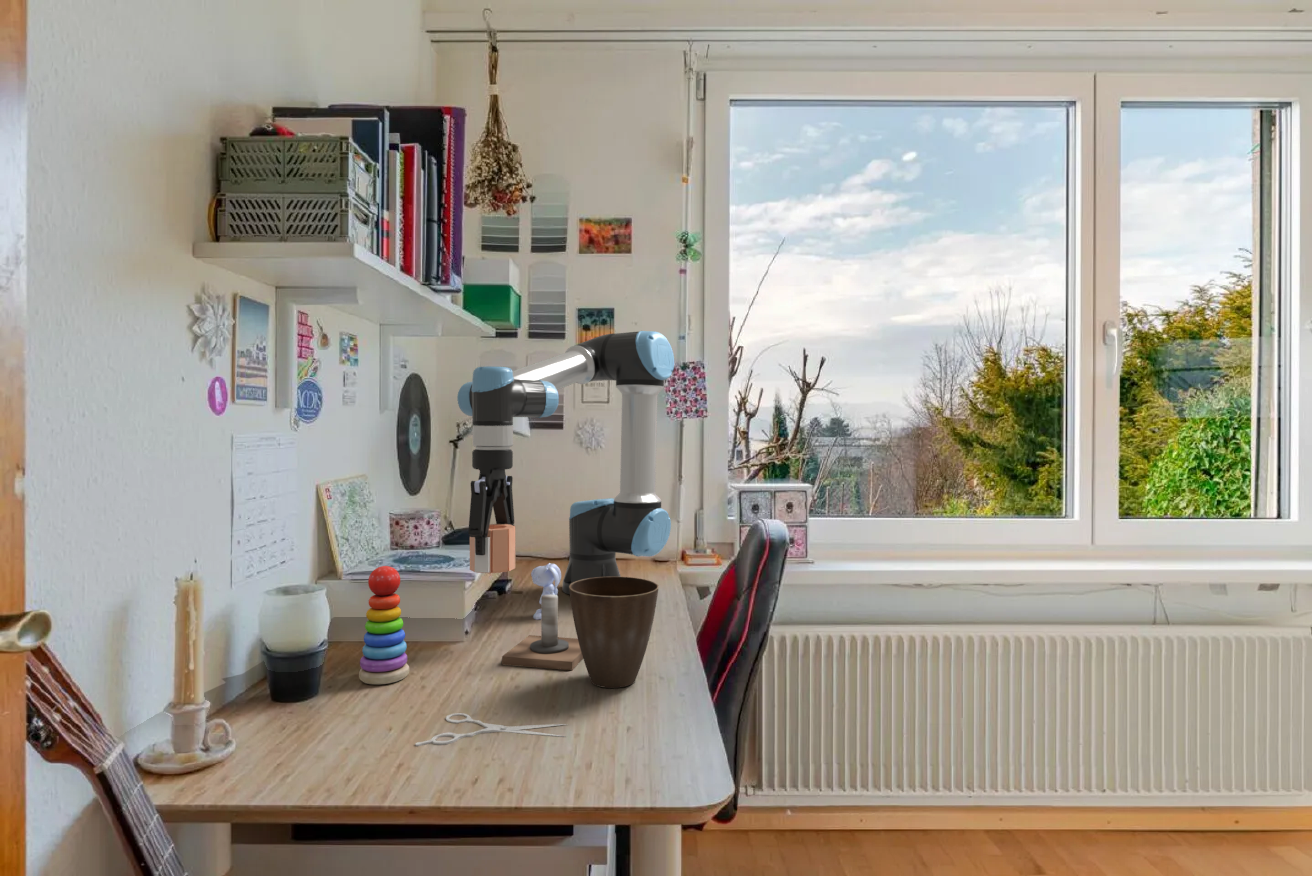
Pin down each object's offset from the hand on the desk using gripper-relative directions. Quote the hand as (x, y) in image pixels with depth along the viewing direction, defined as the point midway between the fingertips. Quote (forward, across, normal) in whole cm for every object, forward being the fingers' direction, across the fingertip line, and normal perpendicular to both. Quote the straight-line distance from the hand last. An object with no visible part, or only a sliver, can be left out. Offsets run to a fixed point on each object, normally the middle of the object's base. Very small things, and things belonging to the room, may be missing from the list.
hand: (492, 567), depth 140 cm
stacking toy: (+15, +20, -10) cm, 27 cm away
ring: (0, 0, 0) cm, 0 cm away
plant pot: (+15, +12, +27) cm, 34 cm away
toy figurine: (+15, -22, +2) cm, 27 cm away
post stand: (+15, +3, +13) cm, 20 cm away
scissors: (+16, +35, +17) cm, 42 cm away
